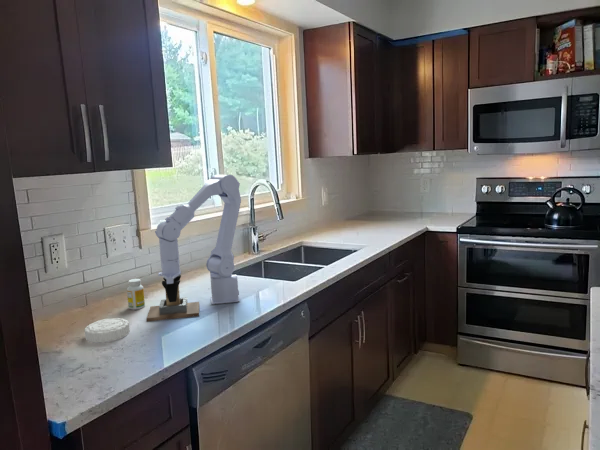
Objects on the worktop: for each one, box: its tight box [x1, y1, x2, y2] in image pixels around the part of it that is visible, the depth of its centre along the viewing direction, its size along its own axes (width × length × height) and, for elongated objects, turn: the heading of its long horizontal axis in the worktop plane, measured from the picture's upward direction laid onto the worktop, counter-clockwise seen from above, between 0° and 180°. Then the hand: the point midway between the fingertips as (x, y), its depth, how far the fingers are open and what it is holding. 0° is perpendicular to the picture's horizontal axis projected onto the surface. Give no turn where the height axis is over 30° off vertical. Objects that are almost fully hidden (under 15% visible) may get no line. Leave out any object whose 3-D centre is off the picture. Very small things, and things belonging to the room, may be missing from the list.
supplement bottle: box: [126, 278, 146, 310], centre depth 158 cm, size 5×5×10 cm
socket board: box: [146, 297, 200, 322], centre depth 152 cm, size 16×12×4 cm
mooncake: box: [83, 317, 131, 344], centre depth 135 cm, size 12×12×4 cm
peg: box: [164, 286, 181, 306], centre depth 151 cm, size 4×4×8 cm
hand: (173, 299), depth 151 cm, fingers closed on peg, 4 cm apart
